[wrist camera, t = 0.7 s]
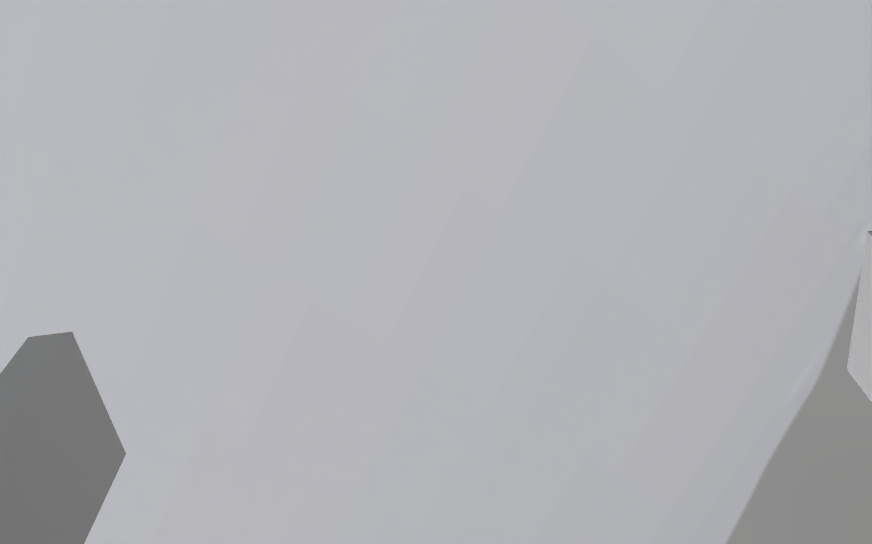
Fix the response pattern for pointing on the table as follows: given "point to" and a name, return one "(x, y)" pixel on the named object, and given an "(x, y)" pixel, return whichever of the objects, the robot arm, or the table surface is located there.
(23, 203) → the table surface
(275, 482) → the table surface
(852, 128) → the table surface
